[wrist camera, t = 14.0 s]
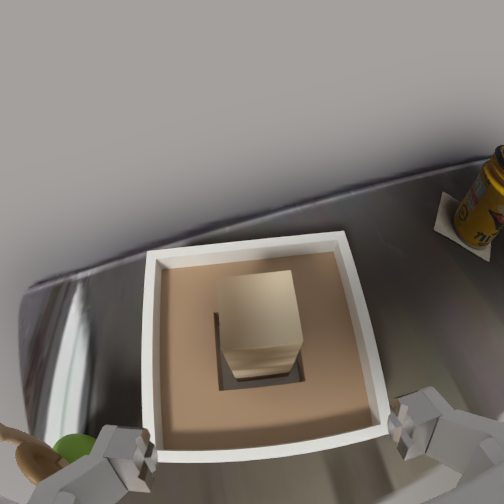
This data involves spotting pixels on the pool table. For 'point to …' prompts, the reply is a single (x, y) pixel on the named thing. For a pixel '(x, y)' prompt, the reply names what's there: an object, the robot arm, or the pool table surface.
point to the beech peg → (259, 324)
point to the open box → (266, 390)
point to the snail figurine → (45, 452)
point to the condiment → (476, 209)
